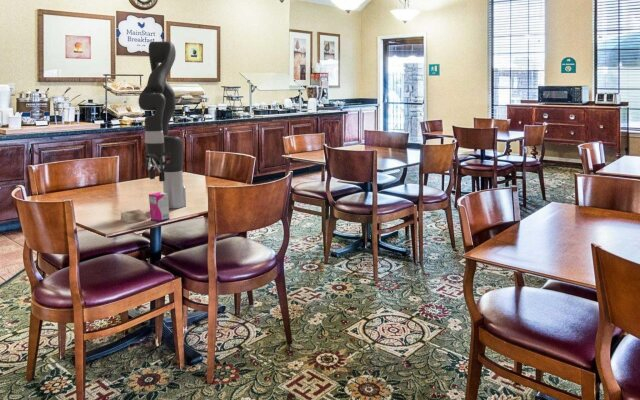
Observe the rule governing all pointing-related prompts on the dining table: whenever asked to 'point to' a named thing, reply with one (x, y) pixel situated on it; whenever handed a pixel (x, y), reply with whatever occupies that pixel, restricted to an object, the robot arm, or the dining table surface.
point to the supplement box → (159, 206)
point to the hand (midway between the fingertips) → (157, 180)
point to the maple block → (133, 216)
